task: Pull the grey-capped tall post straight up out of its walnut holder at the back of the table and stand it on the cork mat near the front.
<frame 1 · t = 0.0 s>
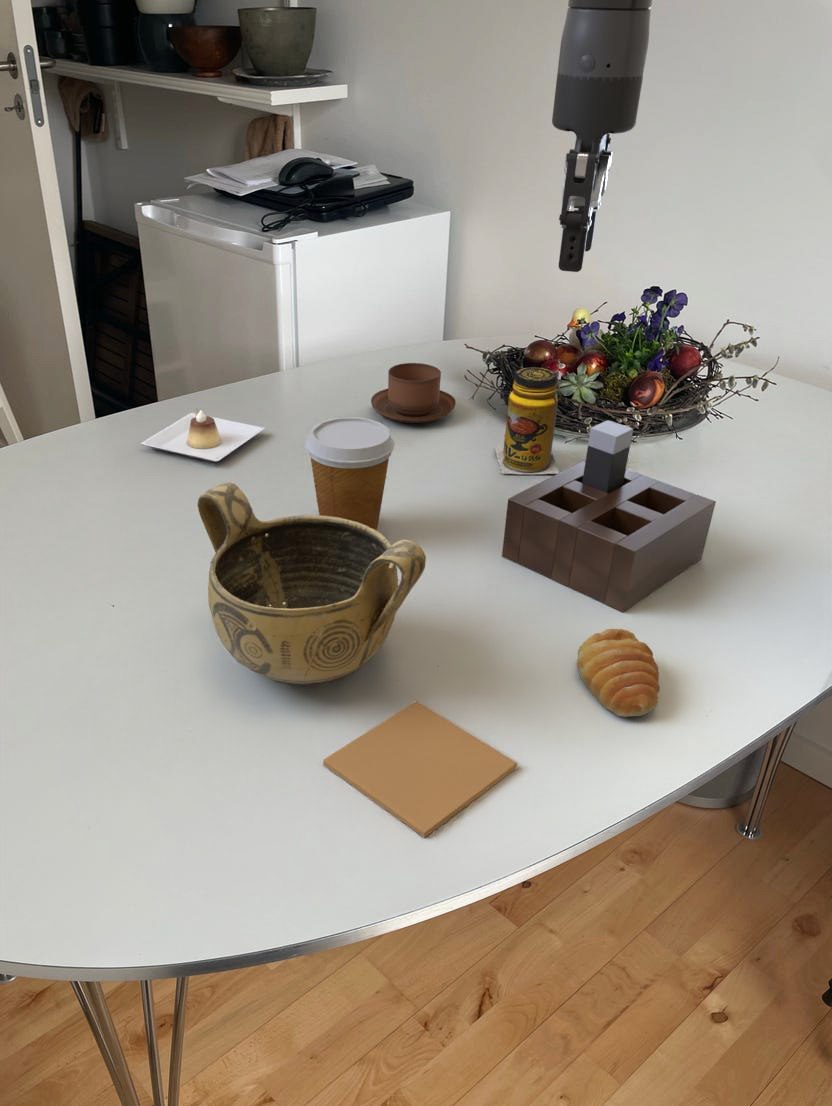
hand: (575, 260, 95), 29 cm above the table, tool pointing down, fingers open, 8 cm apart
dessert: (204, 444, 130), on the table
pastry: (618, 686, 87), on the table
grey-capped tall post: (593, 536, 109), resting in holder
disposable coffee cup: (349, 533, 110), on the table
ceramic bowl: (306, 662, 90), on the table
cork mat: (419, 766, 78), on the table
condiment: (525, 462, 126), on the table
holder: (601, 557, 105), on the table
cup and saucer: (412, 415, 139), on the table
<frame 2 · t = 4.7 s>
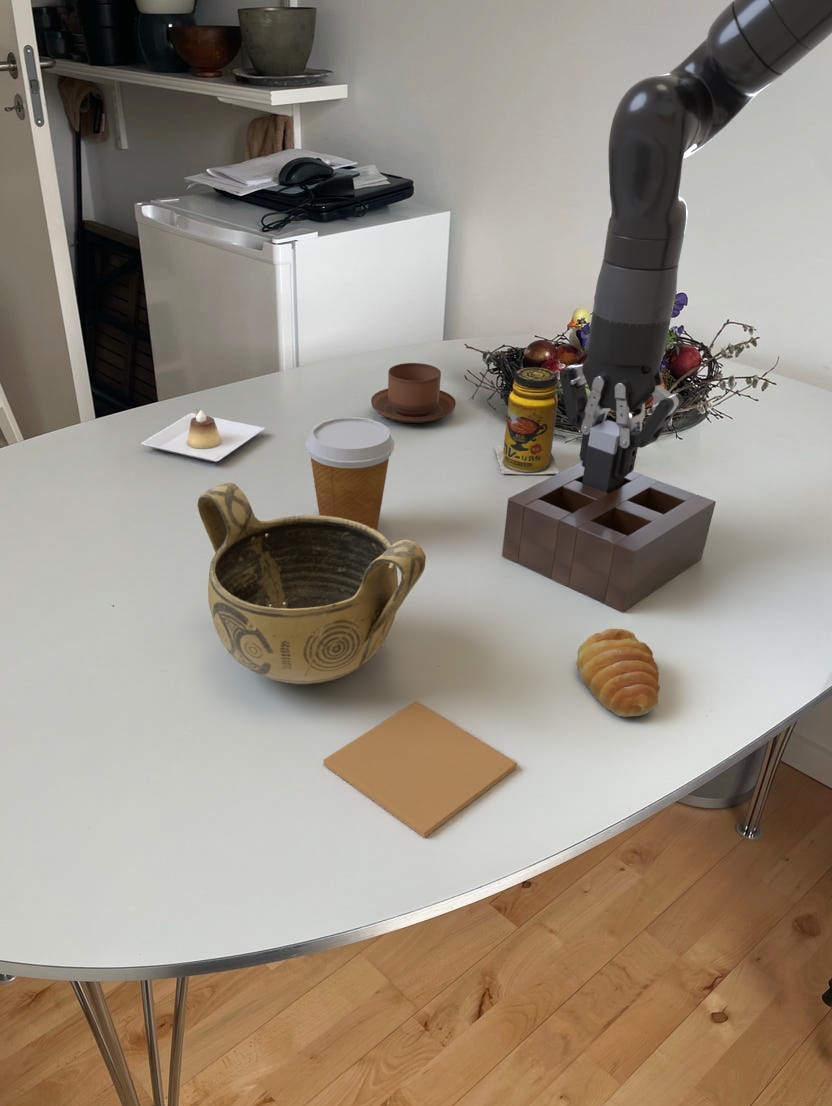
hand: (604, 470, 105), 8 cm above the table, tool pointing down, fingers closed on grey-capped tall post, 3 cm apart
grey-capped tall post: (593, 536, 109), resting in holder, touching gripper
everything else where it was.
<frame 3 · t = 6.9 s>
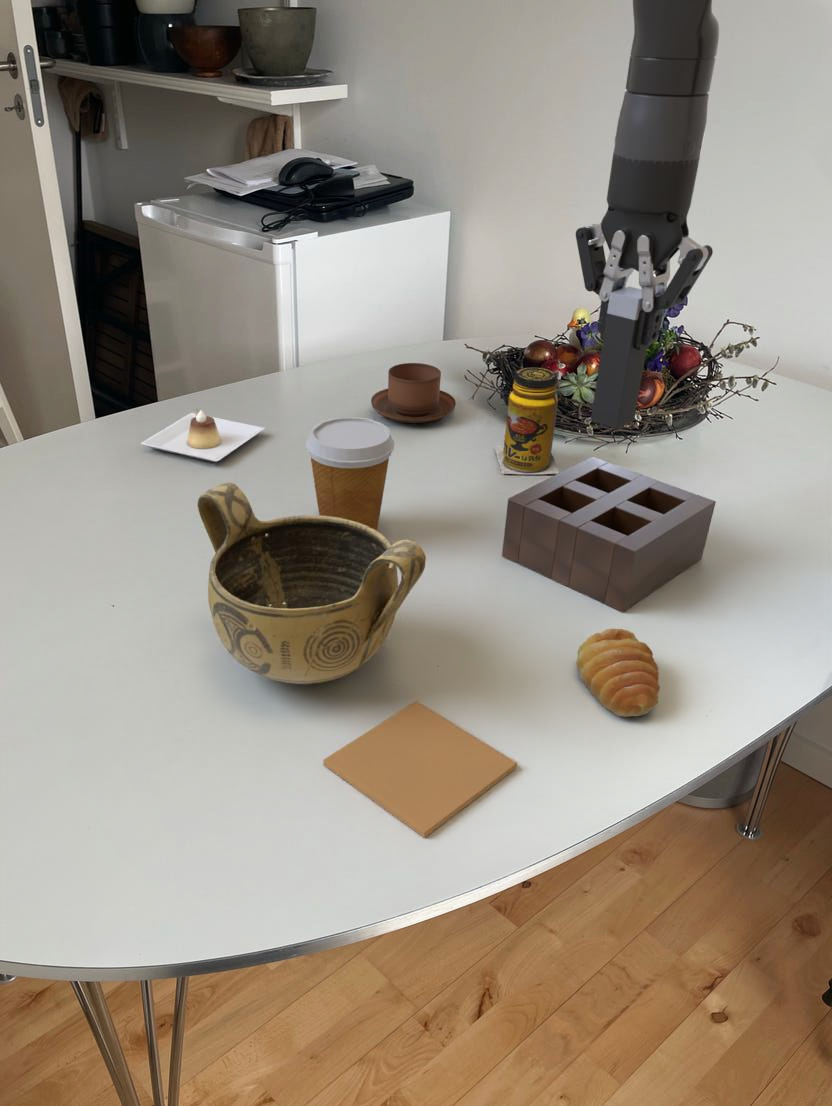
hand: (625, 342, 96), 22 cm above the table, tool pointing down, fingers closed on grey-capped tall post, 3 cm apart
grey-capped tall post: (612, 420, 101), point 14 cm above the table, touching gripper
everything else where it was.
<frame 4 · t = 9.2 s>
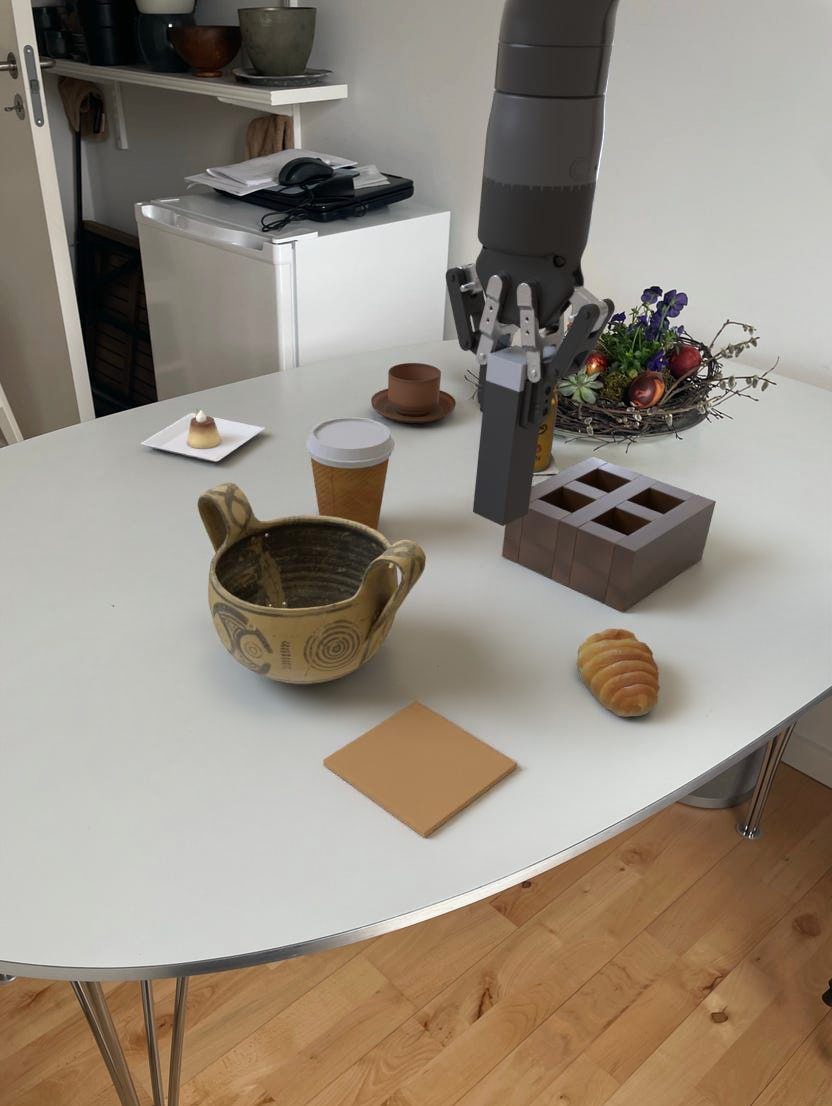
hand: (511, 417, 74), 25 cm above the table, tool pointing down, fingers closed on grey-capped tall post, 3 cm apart
grey-capped tall post: (500, 513, 78), point 16 cm above the table, touching gripper
everything else where it was.
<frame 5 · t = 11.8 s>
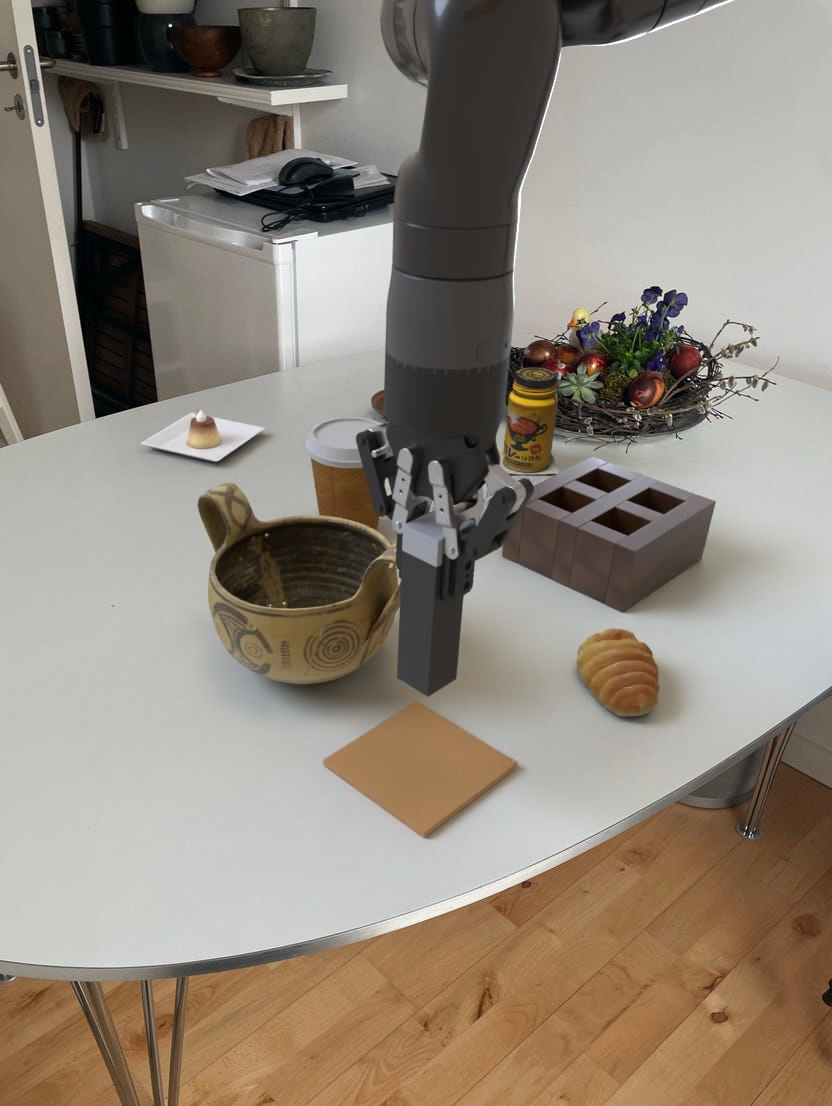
hand: (432, 586, 68), 17 cm above the table, tool pointing down, fingers closed on grey-capped tall post, 3 cm apart
grey-capped tall post: (426, 678, 73), point 9 cm above the table, touching gripper
everything else where it was.
when the fingers open (9 cm above the table, at t = 14.0 s): grey-capped tall post stays where it is, resting on cork mat.
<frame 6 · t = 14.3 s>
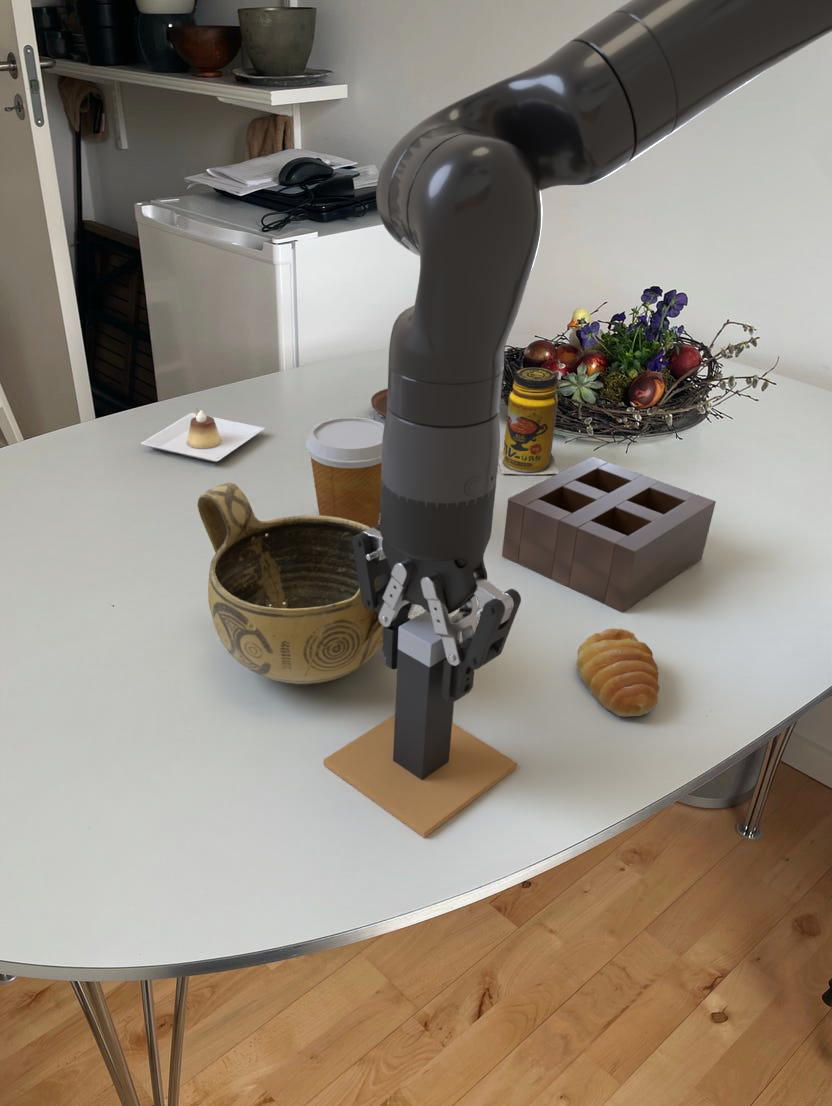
hand: (425, 679, 73), 9 cm above the table, tool pointing down, fingers open, 5 cm apart
grey-capped tall post: (420, 761, 77), point 1 cm above the table, touching cork mat
everything else where it was.
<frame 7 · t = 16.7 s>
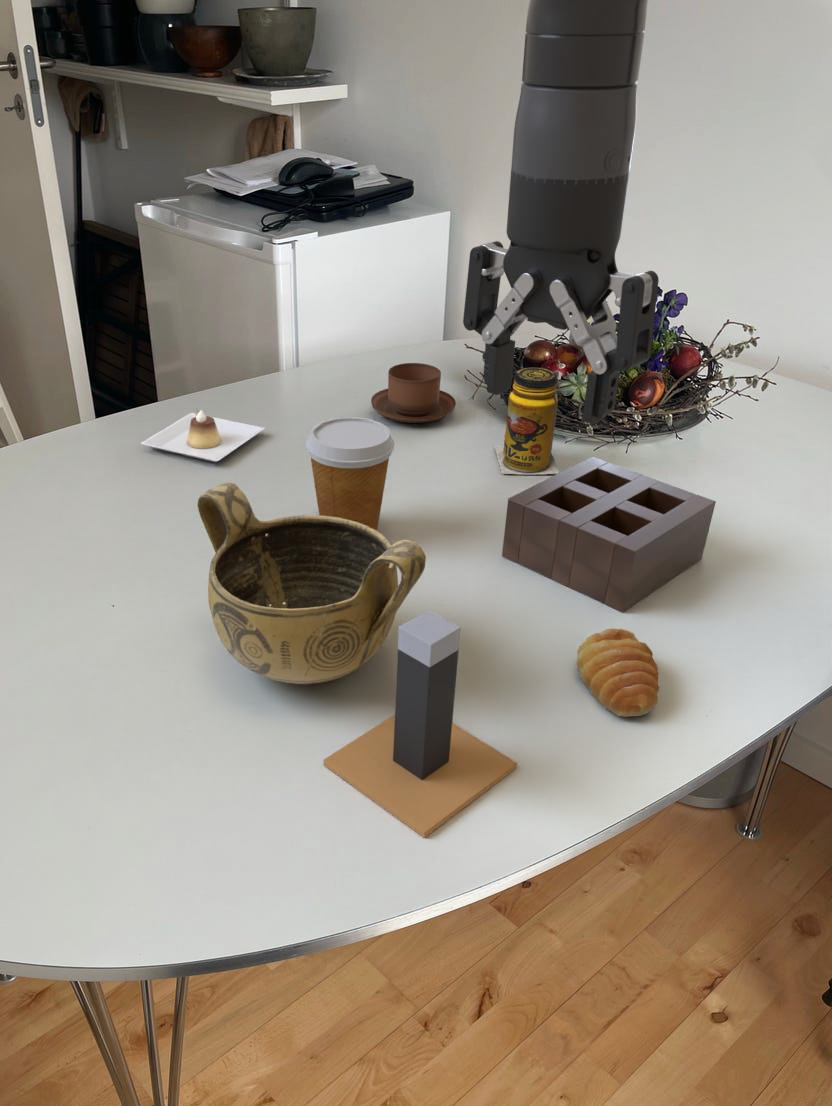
hand: (544, 405, 72), 26 cm above the table, tool pointing down, fingers open, 8 cm apart
nothing on the table moved.
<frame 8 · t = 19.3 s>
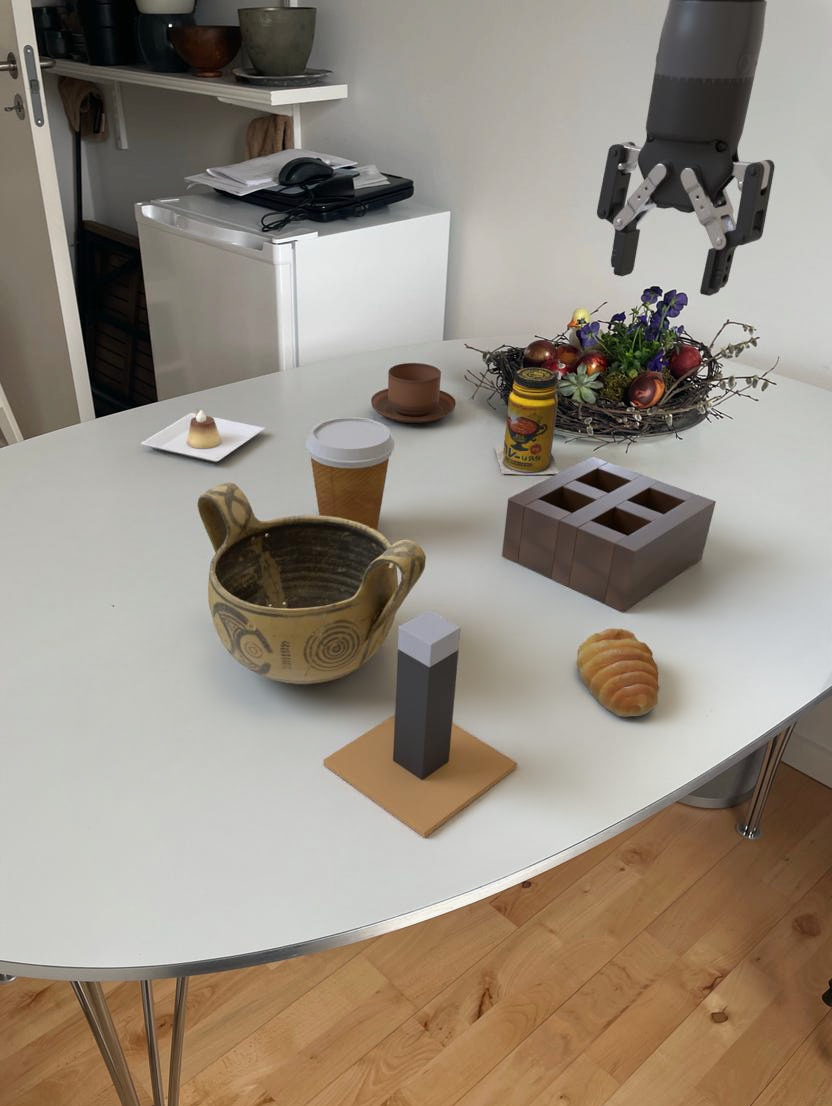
hand: (664, 283, 85), 30 cm above the table, tool pointing down, fingers open, 8 cm apart
nothing on the table moved.
at the end: grey-capped tall post inside the target area on the cork mat (0.0 cm from its centre), point 0.6 cm above the cork mat's base; grey-capped tall post tilted 0° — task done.
